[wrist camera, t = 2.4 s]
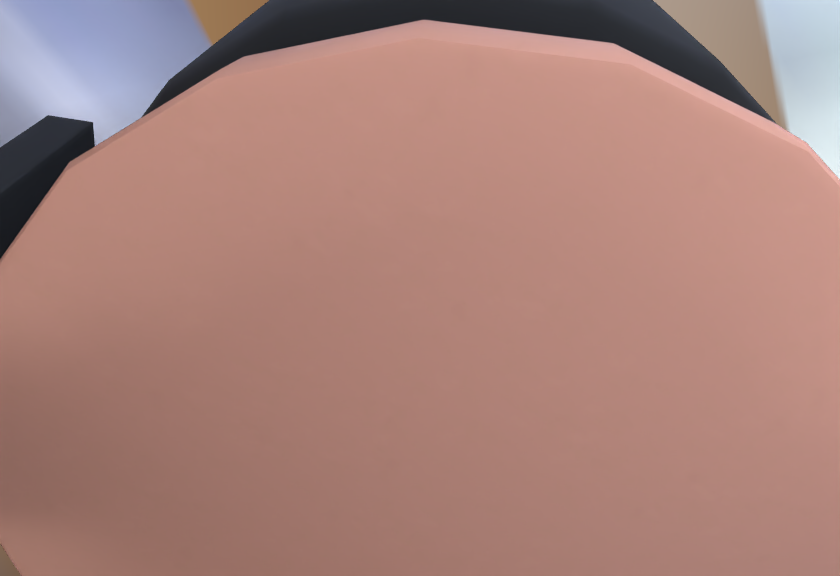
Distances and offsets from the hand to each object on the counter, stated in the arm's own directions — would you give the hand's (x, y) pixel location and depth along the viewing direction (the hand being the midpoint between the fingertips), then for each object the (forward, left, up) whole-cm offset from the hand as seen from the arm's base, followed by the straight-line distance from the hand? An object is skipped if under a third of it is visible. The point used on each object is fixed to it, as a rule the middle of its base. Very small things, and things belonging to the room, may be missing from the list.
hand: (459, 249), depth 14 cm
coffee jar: (0, 0, -12) cm, 12 cm away
